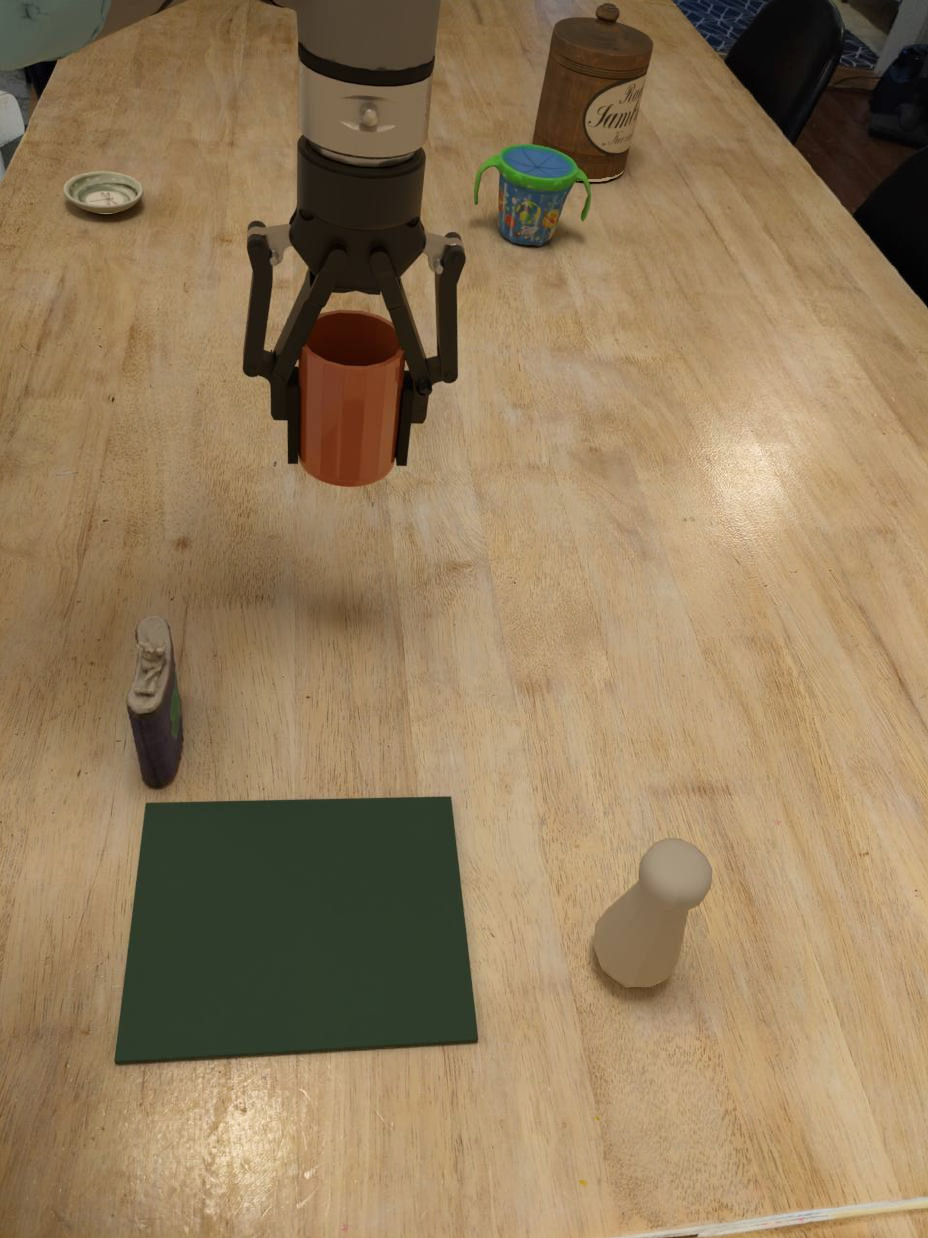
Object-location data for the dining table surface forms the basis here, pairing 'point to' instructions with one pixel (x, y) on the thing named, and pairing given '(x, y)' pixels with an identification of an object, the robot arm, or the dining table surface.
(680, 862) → the salt shaker
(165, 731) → the flask
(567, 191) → the snack cup
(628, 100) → the wooden container
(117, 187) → the saucer
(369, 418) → the cup
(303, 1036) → the mat
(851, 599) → the dining table surface
